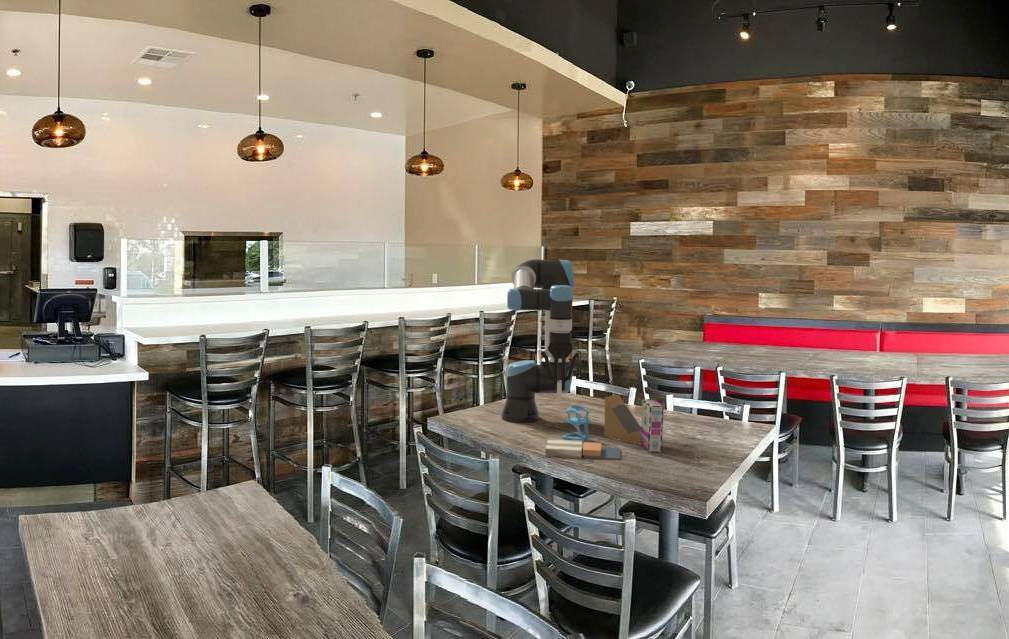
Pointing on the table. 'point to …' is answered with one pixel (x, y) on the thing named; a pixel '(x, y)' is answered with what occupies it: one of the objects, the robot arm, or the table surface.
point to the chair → (577, 423)
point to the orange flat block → (591, 449)
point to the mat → (608, 453)
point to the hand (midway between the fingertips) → (559, 399)
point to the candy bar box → (652, 425)
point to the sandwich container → (620, 421)
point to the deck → (564, 448)
